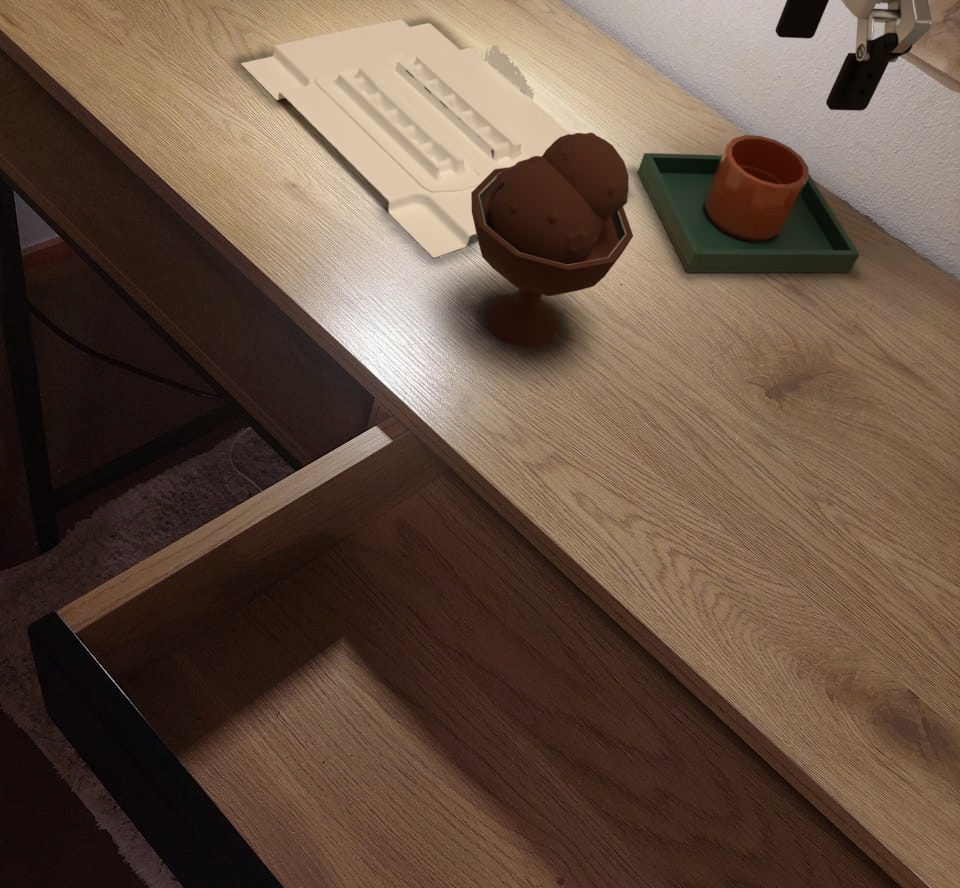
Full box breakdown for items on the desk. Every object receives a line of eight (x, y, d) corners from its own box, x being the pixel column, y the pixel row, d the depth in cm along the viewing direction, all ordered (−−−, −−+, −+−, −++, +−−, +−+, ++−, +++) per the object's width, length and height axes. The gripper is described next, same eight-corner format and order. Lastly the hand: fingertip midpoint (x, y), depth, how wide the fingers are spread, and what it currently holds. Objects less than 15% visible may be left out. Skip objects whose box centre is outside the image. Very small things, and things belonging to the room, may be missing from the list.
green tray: (790, 176, 97) (799, 157, 96) (849, 272, 90) (860, 254, 88) (637, 171, 93) (644, 152, 91) (686, 272, 86) (695, 253, 84)
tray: (434, 259, 81) (441, 216, 78) (238, 75, 92) (238, 32, 89) (624, 191, 91) (636, 152, 88) (426, 33, 102) (431, -7, 99)
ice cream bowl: (518, 254, 83) (566, 72, 71) (622, 338, 79) (692, 162, 68) (418, 304, 77) (452, 115, 66) (526, 397, 74) (583, 216, 62)
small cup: (763, 192, 94) (789, 136, 90) (793, 244, 90) (822, 188, 86) (691, 190, 92) (714, 133, 88) (719, 243, 88) (744, 186, 84)
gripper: (1051, -122, 63) (911, 139, 77) (920, -238, 73) (816, 13, 86) (944, -132, 61) (820, 137, 75) (823, -250, 71) (732, 8, 84)
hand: (818, 70), depth 80 cm, fingers open, 9 cm apart
